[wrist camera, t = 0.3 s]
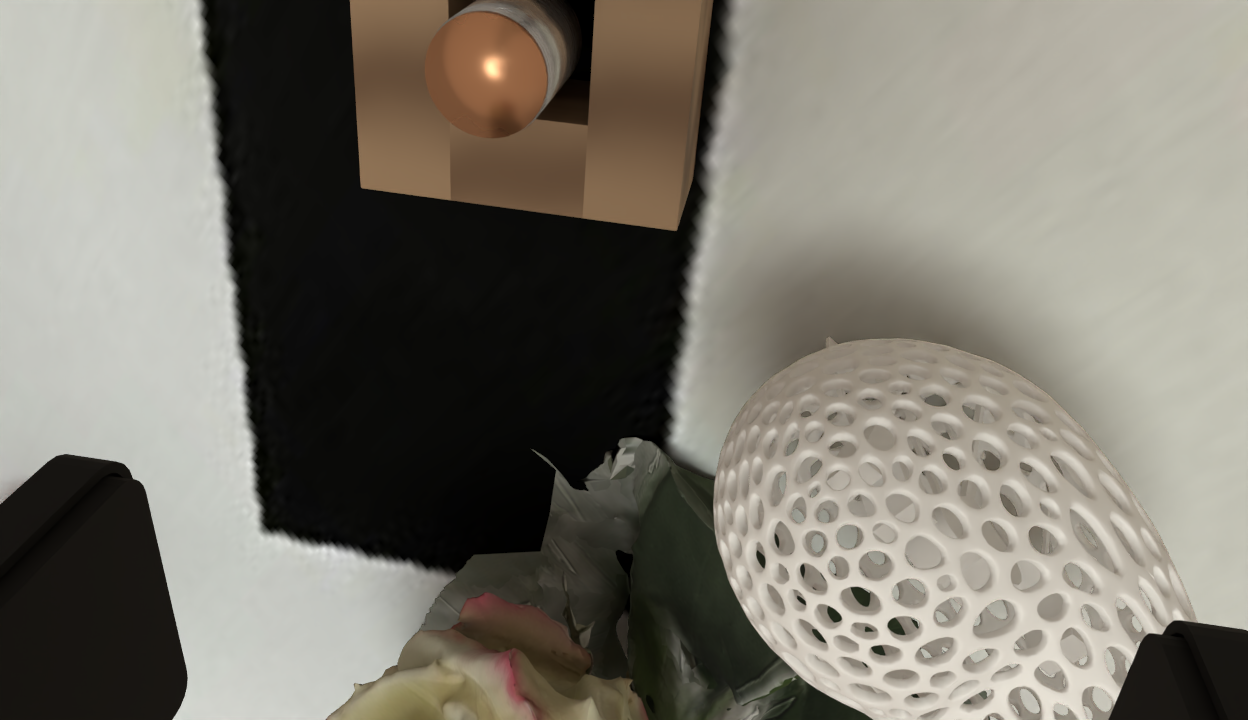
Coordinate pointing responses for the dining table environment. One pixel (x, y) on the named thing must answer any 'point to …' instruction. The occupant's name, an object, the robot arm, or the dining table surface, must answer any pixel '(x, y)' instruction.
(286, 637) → the dining table surface
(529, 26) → the plunger
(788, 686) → the rose bouquet
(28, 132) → the dining table surface
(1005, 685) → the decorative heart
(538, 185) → the socket block
